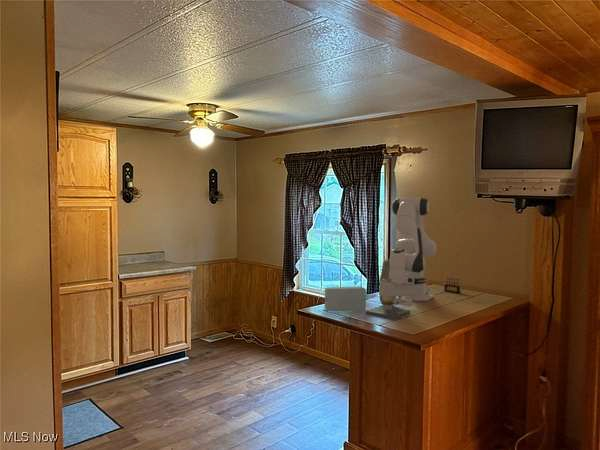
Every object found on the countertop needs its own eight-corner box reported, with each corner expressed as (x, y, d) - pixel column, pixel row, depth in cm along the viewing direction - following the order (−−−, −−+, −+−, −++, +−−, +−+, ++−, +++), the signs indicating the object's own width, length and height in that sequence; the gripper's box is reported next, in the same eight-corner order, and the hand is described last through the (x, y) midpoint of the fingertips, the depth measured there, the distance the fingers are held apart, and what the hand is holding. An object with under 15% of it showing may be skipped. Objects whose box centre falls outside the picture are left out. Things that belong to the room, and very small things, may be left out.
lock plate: (382, 308, 264) (382, 298, 264) (410, 313, 252) (410, 303, 252) (365, 314, 250) (366, 303, 250) (394, 320, 239) (394, 309, 238)
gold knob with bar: (378, 303, 250) (379, 296, 250) (386, 300, 256) (387, 293, 256) (407, 308, 238) (407, 301, 238) (414, 305, 245) (415, 298, 245)
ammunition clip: (444, 291, 314) (444, 274, 314) (445, 291, 316) (445, 274, 315) (459, 293, 308) (460, 276, 307) (460, 293, 309) (460, 275, 309)
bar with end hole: (327, 312, 254) (327, 289, 253) (324, 310, 260) (324, 287, 259) (366, 310, 258) (366, 288, 258) (362, 308, 264) (363, 286, 263)
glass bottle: (396, 308, 265) (397, 261, 263) (378, 307, 267) (379, 260, 265) (396, 304, 275) (397, 259, 273) (379, 303, 277) (380, 258, 275)
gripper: (382, 280, 235) (382, 306, 236) (417, 279, 241) (416, 304, 242) (377, 278, 241) (376, 303, 242) (410, 277, 247) (410, 301, 248)
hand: (396, 304), depth 242 cm, fingers closed
